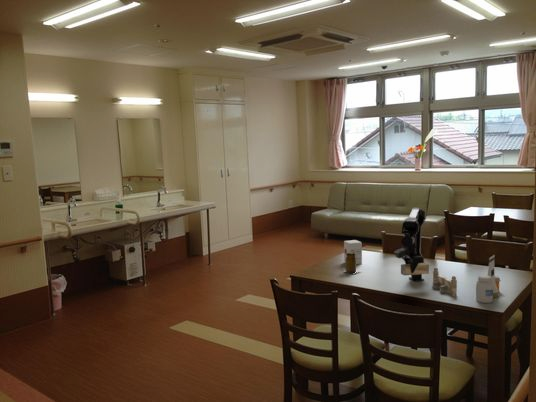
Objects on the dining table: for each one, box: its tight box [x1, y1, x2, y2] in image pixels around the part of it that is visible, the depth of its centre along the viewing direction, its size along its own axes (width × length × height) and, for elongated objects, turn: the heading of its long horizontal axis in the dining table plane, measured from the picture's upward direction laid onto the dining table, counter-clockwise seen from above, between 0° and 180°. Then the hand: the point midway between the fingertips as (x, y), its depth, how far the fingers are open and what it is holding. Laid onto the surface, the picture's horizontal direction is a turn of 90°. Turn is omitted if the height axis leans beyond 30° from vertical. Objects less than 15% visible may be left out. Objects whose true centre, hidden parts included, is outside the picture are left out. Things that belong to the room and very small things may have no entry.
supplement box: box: [343, 239, 363, 265], centre depth 309 cm, size 9×9×15 cm
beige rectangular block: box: [400, 262, 430, 276], centre depth 250 cm, size 4×14×5 cm, turn 99°
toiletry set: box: [475, 254, 501, 304], centre depth 234 cm, size 25×8×21 cm, turn 140°
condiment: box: [345, 252, 357, 275], centre depth 287 cm, size 7×8×12 cm
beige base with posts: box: [432, 267, 458, 297], centre depth 247 cm, size 20×5×10 cm, turn 9°
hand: (410, 272), depth 250 cm, fingers closed on beige rectangular block, 4 cm apart
